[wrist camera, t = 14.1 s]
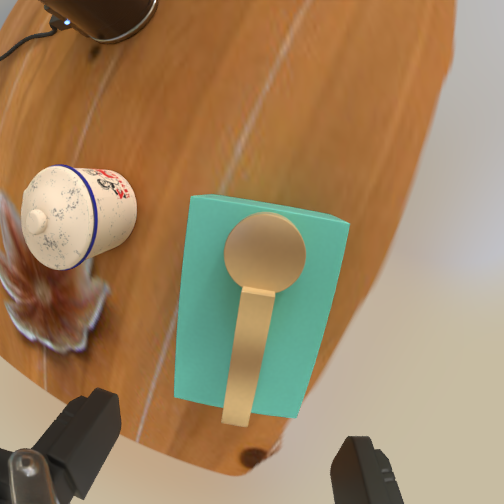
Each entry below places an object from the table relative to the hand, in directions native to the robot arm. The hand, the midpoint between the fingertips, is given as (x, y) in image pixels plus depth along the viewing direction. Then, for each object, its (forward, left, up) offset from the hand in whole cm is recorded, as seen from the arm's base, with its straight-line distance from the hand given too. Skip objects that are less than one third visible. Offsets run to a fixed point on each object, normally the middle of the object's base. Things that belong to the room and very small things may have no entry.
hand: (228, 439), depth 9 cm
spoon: (0, -2, -14) cm, 14 cm away
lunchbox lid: (0, -2, -15) cm, 15 cm away
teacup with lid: (-19, +4, -22) cm, 29 cm away
